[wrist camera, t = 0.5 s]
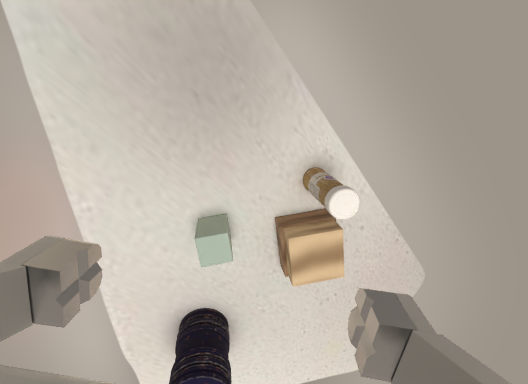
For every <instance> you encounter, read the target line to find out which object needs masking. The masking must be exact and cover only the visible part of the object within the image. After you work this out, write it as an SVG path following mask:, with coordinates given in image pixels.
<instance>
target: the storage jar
mask: <svg viewBox="0 0 528 384" xmlns="http://www.w3.org/2000/svg"><path fill="white" fill-rule="evenodd" d="M229 345H230V342H229V331H228V322H227V319H226V318H225V316H224V315H223V314H222V313H220V312H219V311H217V310H214V309H209V308H202V309H197V310H194V311H192V312H190V313H189V314H187V315H186V316H185V317H184V318H183V320H182V321H181V324H180V328H179V333H178V336H177V341H176V350H175V353H176V359H175V363H174V365H173V368H172V370H171V377H170V382H169V384H231V367H230V363H229V360H228V353H229Z"/></svg>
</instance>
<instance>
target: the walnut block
mask: <svg viewBox="0 0 528 384" xmlns="http://www.w3.org/2000/svg"><path fill="white" fill-rule="evenodd" d="M328 220H334V221H335V222H336V218H335V217H333V216H332V215H331V214H330V213H329V212H328V211H327V209H320V210H314V211H309V212H303V213H297V214H292V215H286V216H280V217H275V222H276V231H277V239H278V247H279V255H280V263H281V267H282V269H283V272H284V275H285V277H286V276H288V273H287V263H286V253H285V243H284V233H283V228H286V227H292V226H298V225H304V224H310V223H316V222H322V221H328Z"/></svg>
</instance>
